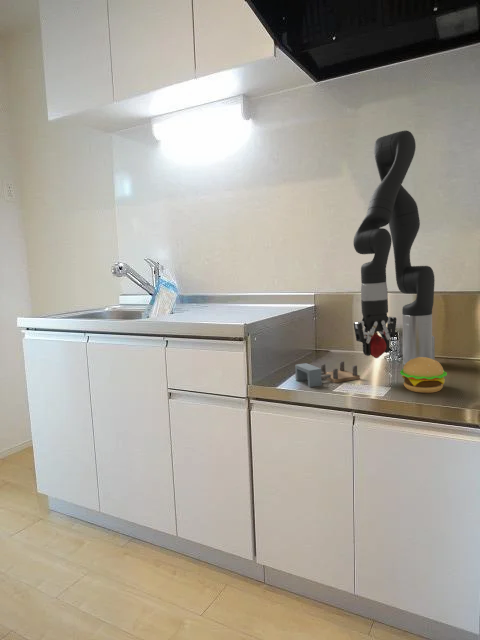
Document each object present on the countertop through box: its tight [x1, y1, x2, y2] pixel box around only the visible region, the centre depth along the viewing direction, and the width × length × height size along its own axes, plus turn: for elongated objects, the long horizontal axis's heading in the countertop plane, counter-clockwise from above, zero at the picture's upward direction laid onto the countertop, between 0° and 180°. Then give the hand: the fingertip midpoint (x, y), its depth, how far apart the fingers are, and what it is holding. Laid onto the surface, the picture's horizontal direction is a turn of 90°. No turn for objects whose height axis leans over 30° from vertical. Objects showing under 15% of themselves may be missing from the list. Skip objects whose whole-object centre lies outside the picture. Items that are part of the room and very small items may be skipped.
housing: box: [294, 362, 323, 388], centre depth 136 cm, size 4×9×5 cm, turn 21°
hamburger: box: [399, 357, 448, 394], centre depth 123 cm, size 12×12×9 cm
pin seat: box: [320, 360, 361, 384], centre depth 139 cm, size 13×9×4 cm
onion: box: [369, 332, 386, 359], centre depth 133 cm, size 6×6×8 cm
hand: (376, 353), depth 133 cm, fingers closed on onion, 6 cm apart
